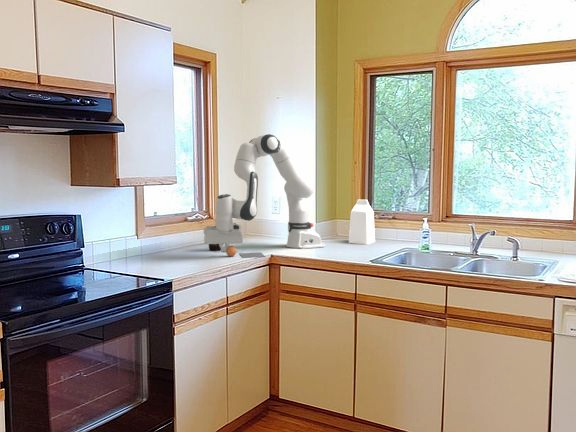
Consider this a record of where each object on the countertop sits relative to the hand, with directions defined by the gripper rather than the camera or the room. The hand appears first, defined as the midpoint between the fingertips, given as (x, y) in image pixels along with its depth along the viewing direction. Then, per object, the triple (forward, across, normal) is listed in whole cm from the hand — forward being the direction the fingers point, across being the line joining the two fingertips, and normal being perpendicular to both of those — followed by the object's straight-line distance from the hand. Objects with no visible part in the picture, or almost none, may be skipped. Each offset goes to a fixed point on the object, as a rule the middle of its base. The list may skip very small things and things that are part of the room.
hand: (223, 252), depth 285 cm
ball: (-1, +4, 0) cm, 4 cm away
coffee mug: (+2, 0, +20) cm, 20 cm away
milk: (0, +88, +24) cm, 91 cm away
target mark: (+2, +15, 0) cm, 15 cm away
